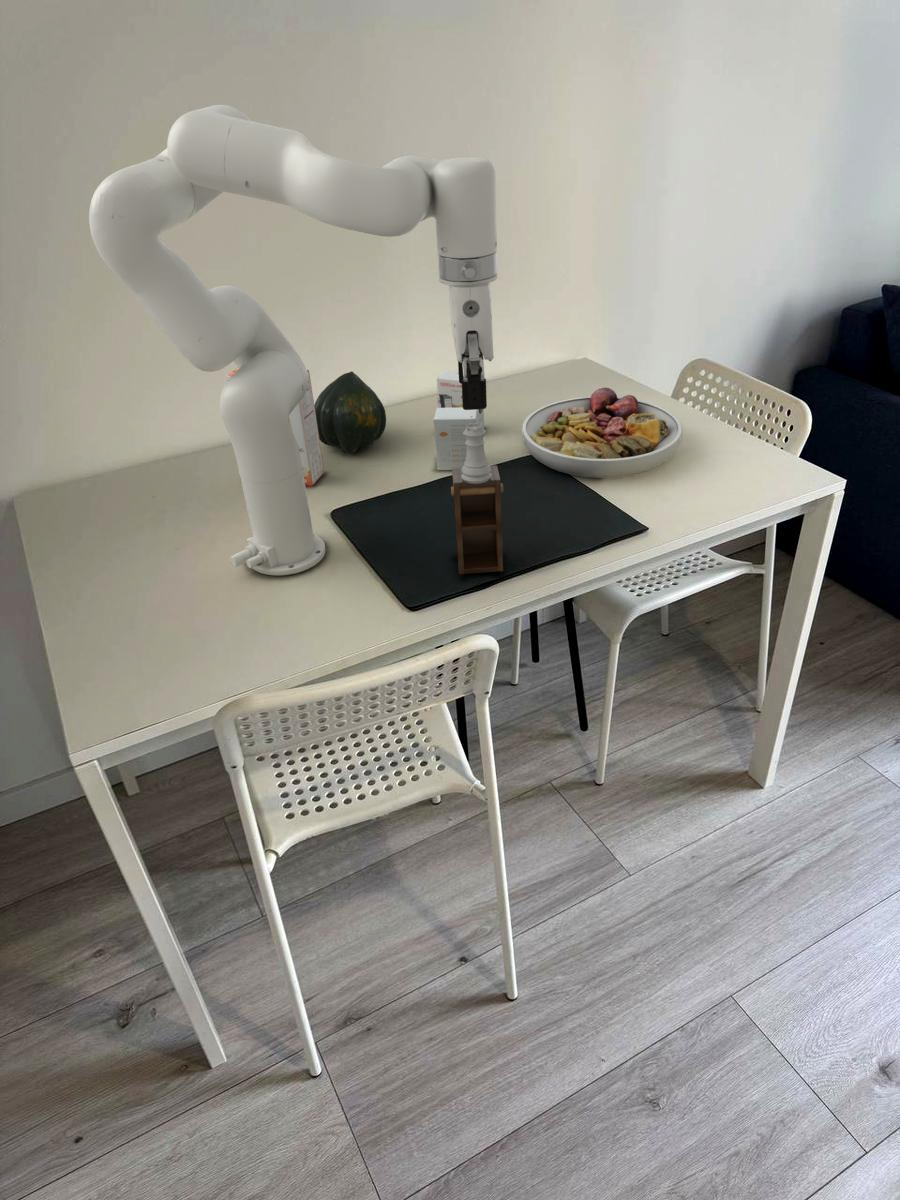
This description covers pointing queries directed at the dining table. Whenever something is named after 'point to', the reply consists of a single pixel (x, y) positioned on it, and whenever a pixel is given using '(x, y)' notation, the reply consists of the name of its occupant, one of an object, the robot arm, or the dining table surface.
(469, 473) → the rook chess piece
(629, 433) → the bowl
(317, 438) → the cracker box
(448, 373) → the ink box
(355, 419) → the squash
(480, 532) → the brown wooden shelf box
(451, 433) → the small box
